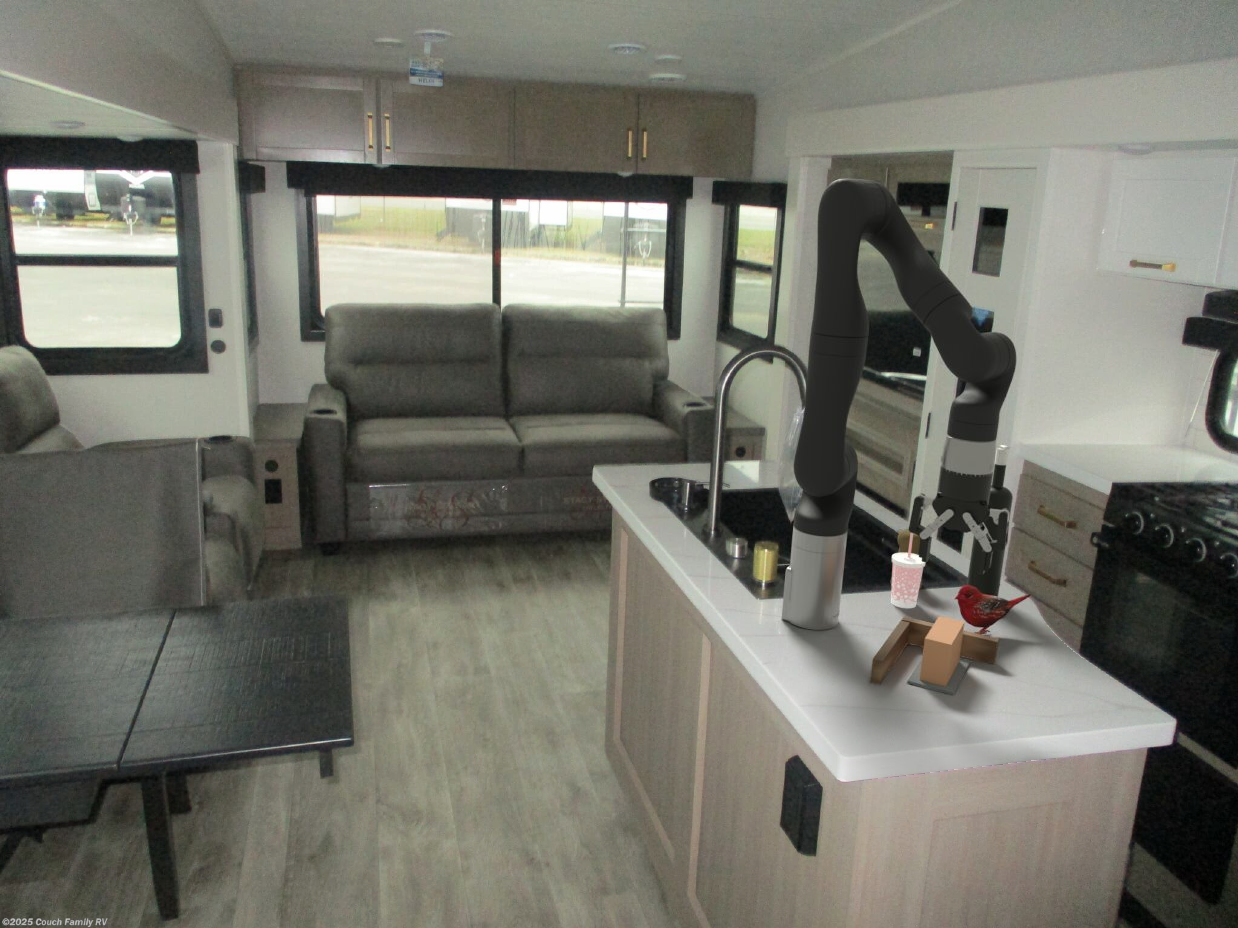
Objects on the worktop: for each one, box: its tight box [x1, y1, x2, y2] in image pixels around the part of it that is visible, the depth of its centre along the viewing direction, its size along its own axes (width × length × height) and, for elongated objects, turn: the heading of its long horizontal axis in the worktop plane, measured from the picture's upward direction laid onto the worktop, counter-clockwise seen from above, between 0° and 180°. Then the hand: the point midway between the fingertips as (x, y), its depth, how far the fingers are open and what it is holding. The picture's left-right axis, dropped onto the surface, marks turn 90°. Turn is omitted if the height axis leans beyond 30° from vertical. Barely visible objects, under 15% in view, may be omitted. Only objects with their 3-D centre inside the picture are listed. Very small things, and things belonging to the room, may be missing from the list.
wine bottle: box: [966, 444, 1013, 597], centre depth 183 cm, size 6×6×30 cm
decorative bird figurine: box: [954, 584, 1032, 635], centre depth 170 cm, size 3×18×10 cm, turn 114°
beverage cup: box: [890, 533, 927, 609], centre depth 181 cm, size 6×6×14 cm
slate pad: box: [907, 657, 971, 696], centre depth 157 cm, size 7×13×1 cm, turn 150°
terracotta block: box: [920, 615, 965, 686], centre depth 156 cm, size 10×4×7 cm, turn 150°
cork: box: [889, 528, 923, 590], centre depth 191 cm, size 6×6×11 cm
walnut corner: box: [869, 616, 1000, 685], centre depth 156 cm, size 16×19×4 cm
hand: (952, 566), depth 152 cm, fingers open, 8 cm apart
